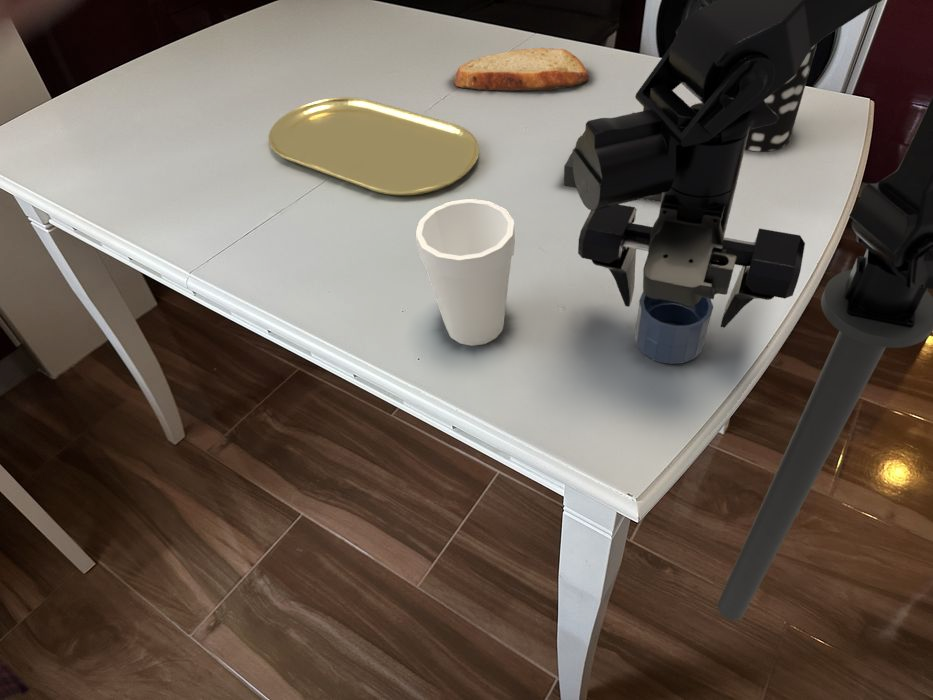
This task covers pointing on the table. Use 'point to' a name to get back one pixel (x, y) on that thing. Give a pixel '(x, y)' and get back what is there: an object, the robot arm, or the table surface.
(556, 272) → the table surface
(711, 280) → the robot arm
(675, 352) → the small blue cup
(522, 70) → the bread slice
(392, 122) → the serving platter
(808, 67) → the white-spotted black cylinder
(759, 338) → the table surface
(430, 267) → the foam cup
